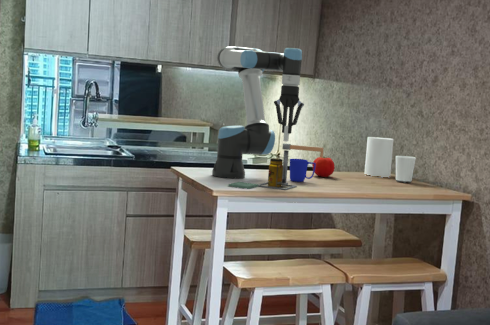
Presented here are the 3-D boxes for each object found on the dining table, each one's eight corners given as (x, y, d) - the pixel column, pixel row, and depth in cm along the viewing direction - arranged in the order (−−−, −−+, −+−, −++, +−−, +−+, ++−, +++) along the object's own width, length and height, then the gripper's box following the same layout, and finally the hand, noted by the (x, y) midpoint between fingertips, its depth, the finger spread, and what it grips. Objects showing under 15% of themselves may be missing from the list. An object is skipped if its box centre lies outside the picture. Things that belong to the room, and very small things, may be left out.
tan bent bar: (322, 157, 286) (322, 147, 286) (281, 154, 290) (282, 143, 290) (323, 157, 290) (323, 146, 289) (282, 153, 294) (283, 143, 294)
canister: (370, 177, 347) (374, 138, 345) (360, 173, 360) (363, 136, 358) (394, 177, 350) (398, 139, 348) (383, 174, 363) (386, 137, 361)
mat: (228, 186, 275) (228, 183, 275) (238, 184, 285) (238, 181, 284) (248, 188, 272) (248, 186, 272) (257, 186, 281) (258, 184, 281)
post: (278, 184, 292) (281, 150, 291) (281, 183, 296) (284, 149, 294) (286, 185, 291) (288, 151, 289) (289, 184, 294) (291, 150, 293)
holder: (255, 186, 282) (255, 185, 282) (267, 183, 294) (267, 182, 294) (285, 190, 276) (285, 188, 276) (296, 186, 288) (296, 185, 288)
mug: (313, 183, 303) (315, 161, 302) (286, 181, 305) (288, 159, 304) (315, 181, 311) (316, 160, 310) (289, 179, 313) (291, 158, 312)
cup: (398, 180, 340) (400, 155, 339) (416, 182, 335) (418, 157, 333) (390, 181, 332) (392, 156, 331) (409, 184, 326) (411, 158, 325)
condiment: (263, 185, 285) (265, 157, 284) (277, 185, 291) (279, 157, 289) (275, 188, 279) (277, 159, 278) (289, 187, 285) (291, 159, 284)
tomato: (334, 176, 339) (336, 156, 338) (333, 179, 327) (335, 158, 326) (312, 174, 341) (314, 154, 340) (310, 176, 328) (312, 156, 327)
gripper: (273, 84, 280) (268, 140, 282) (303, 86, 276) (298, 143, 278) (277, 84, 287) (273, 139, 289) (307, 86, 283) (302, 142, 285)
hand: (285, 141), depth 284 cm, fingers closed
